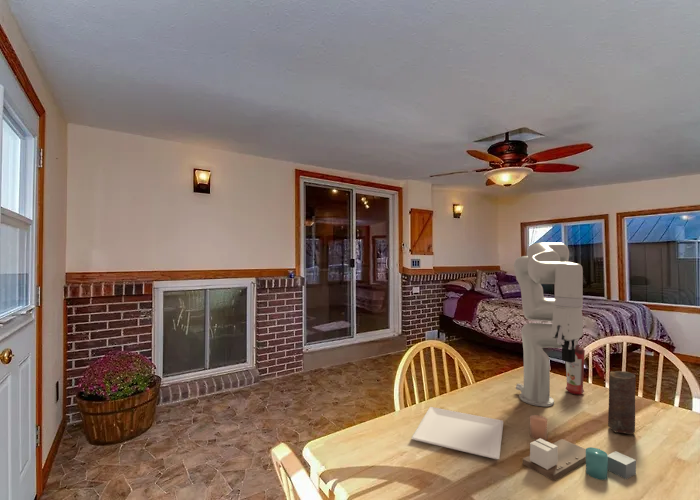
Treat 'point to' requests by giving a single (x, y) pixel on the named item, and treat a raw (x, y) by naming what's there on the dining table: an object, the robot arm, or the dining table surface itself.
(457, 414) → the plate
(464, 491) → the dining table surface
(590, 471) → the teal rounded cylinder
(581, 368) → the liquor
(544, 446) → the slider
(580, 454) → the rail
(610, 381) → the candle
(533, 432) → the peach domed cylinder
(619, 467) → the slate box
